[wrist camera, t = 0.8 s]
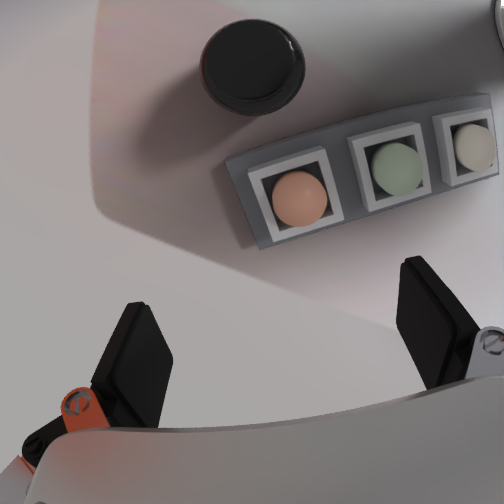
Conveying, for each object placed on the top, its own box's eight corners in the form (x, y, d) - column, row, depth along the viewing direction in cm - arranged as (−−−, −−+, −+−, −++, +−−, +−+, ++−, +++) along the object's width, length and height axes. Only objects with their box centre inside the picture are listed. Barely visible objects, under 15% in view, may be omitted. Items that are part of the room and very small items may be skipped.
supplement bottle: (284, 33, 23) (302, -5, 12) (299, 103, 26) (329, 110, 15) (207, 49, 24) (175, 20, 13) (224, 118, 27) (203, 134, 16)
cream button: (481, 120, 22) (492, 123, 21) (487, 162, 24) (497, 167, 23) (449, 127, 23) (459, 130, 22) (455, 171, 25) (465, 176, 24)
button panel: (478, 92, 24) (499, 95, 20) (489, 169, 28) (509, 179, 24) (226, 158, 29) (222, 167, 25) (259, 240, 32) (259, 259, 29)
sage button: (409, 136, 24) (418, 140, 22) (417, 182, 26) (426, 188, 24) (365, 148, 25) (372, 152, 23) (375, 195, 27) (383, 202, 25)
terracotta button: (314, 163, 26) (318, 168, 24) (328, 210, 27) (332, 217, 26) (264, 179, 26) (265, 185, 25) (281, 224, 28) (282, 233, 27)
